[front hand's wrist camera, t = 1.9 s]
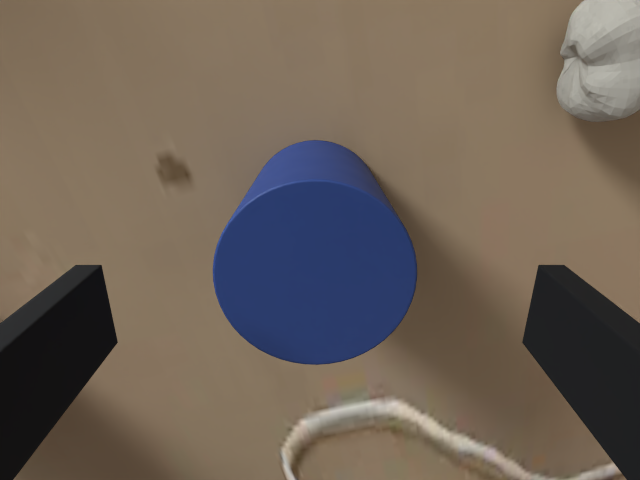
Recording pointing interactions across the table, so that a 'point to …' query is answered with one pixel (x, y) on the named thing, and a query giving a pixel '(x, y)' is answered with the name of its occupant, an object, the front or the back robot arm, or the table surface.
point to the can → (315, 258)
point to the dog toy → (601, 61)
